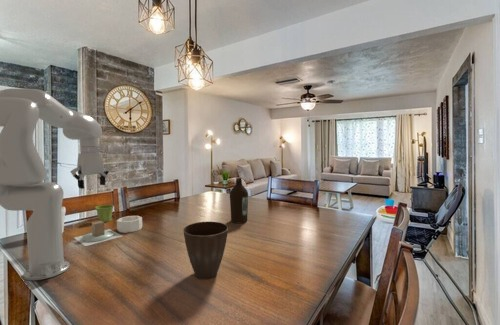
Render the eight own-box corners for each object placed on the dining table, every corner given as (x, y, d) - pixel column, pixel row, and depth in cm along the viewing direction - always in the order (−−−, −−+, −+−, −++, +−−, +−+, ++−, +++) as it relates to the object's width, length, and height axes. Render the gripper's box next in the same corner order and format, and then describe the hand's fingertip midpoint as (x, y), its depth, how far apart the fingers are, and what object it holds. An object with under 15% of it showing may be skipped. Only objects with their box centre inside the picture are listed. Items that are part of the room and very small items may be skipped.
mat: (123, 237, 124) (123, 236, 124) (85, 247, 111) (85, 246, 111) (109, 230, 134) (109, 229, 134) (73, 238, 122) (73, 237, 122)
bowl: (145, 229, 135) (145, 218, 134) (124, 235, 126) (123, 223, 126) (135, 225, 142) (135, 214, 141) (114, 230, 133) (114, 219, 133)
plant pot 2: (229, 263, 96) (229, 221, 95) (227, 284, 81) (226, 235, 80) (189, 263, 96) (188, 221, 94) (179, 285, 81) (178, 236, 80)
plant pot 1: (117, 219, 154) (117, 204, 154) (107, 223, 145) (107, 208, 144) (103, 218, 155) (102, 204, 155) (92, 223, 146) (91, 208, 145)
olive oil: (226, 222, 146) (226, 178, 145) (235, 217, 156) (234, 176, 154) (243, 224, 142) (243, 179, 141) (251, 219, 152) (251, 177, 150)
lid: (118, 236, 123) (117, 221, 123) (87, 244, 114) (87, 228, 113) (107, 230, 132) (107, 217, 131) (78, 237, 122) (77, 223, 121)
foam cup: (53, 238, 122) (52, 211, 121) (38, 237, 124) (36, 210, 123) (71, 232, 132) (70, 207, 131) (56, 230, 133) (54, 206, 132)
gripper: (103, 149, 129) (105, 183, 131) (65, 151, 114) (68, 189, 116) (112, 149, 125) (114, 184, 127) (74, 151, 111) (76, 190, 112)
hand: (92, 186), depth 121 cm, fingers open, 9 cm apart
